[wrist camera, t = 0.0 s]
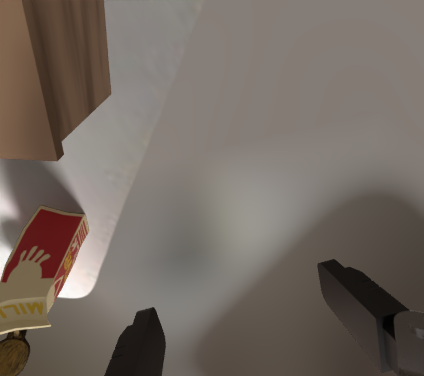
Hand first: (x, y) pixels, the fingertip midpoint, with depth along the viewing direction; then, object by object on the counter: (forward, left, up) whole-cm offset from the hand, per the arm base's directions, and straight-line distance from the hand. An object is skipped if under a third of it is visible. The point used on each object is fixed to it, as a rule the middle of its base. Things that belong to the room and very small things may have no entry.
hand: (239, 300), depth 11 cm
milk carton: (-8, -32, -32) cm, 45 cm away
